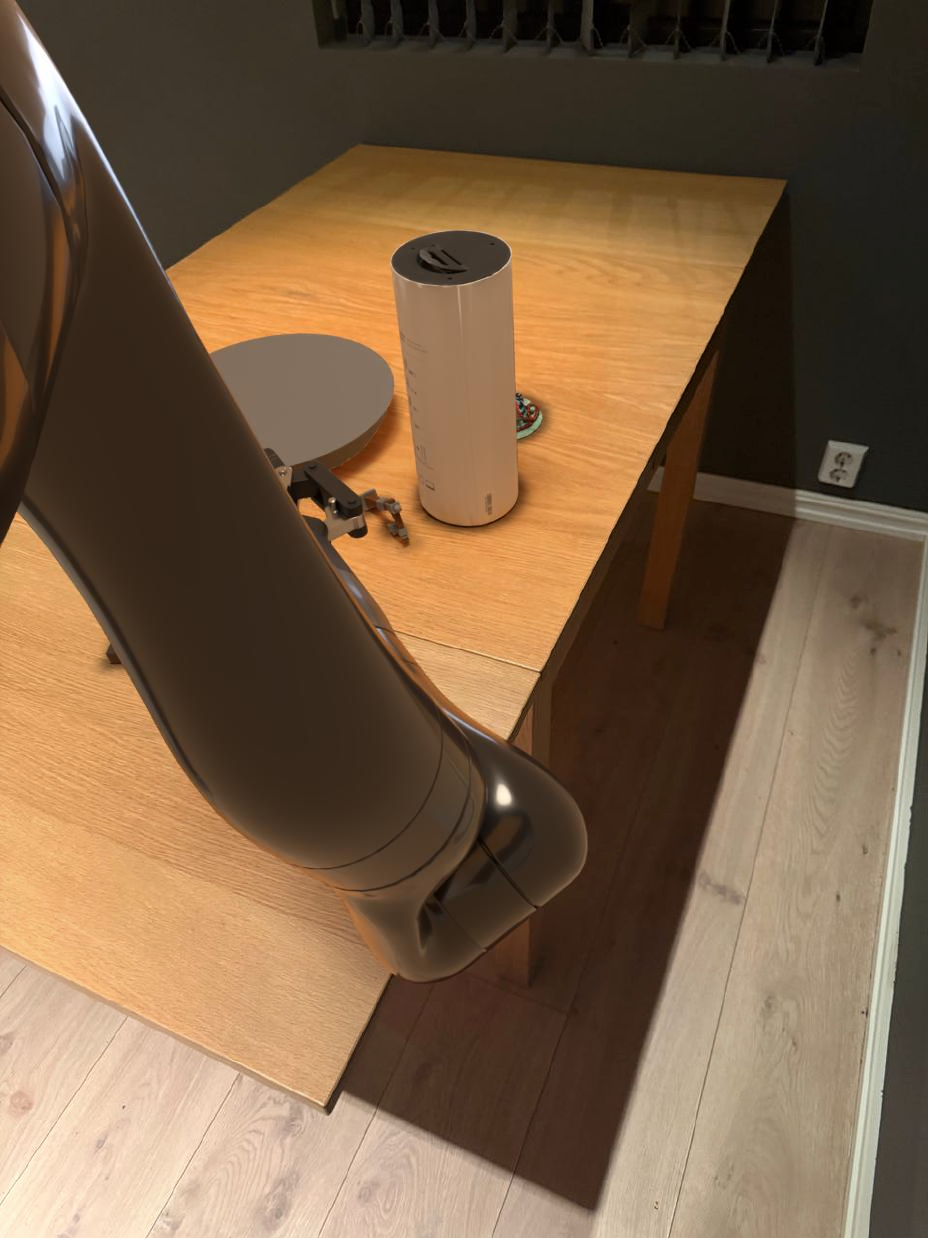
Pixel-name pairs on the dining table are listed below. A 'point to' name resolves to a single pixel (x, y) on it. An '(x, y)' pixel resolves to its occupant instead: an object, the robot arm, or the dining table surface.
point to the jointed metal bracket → (373, 500)
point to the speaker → (459, 371)
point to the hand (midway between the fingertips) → (206, 475)
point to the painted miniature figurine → (526, 416)
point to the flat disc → (308, 394)
